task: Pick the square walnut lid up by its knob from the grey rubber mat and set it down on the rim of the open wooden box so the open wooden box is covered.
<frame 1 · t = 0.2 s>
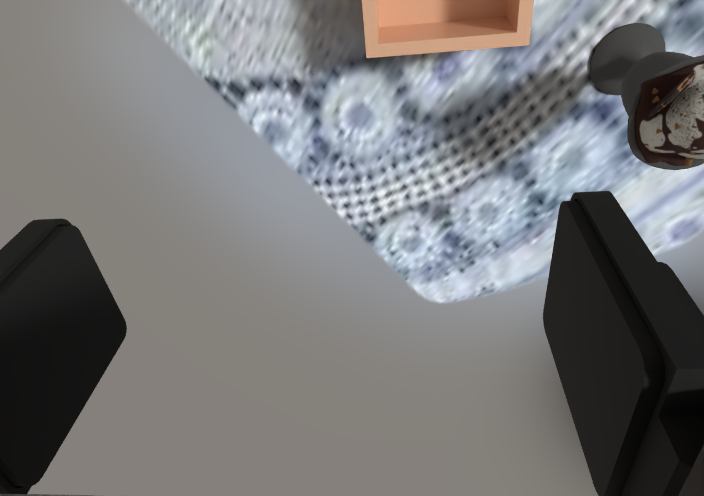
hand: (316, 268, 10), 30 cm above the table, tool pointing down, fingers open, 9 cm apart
sundae: (626, 59, 36), on the table
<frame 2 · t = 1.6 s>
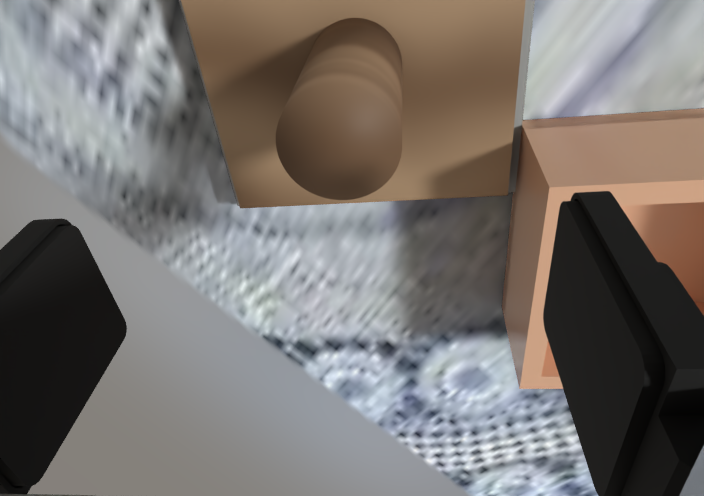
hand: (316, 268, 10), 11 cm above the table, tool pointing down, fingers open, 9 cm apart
lid: (357, 58, 18), resting on mat
open wooden box: (628, 221, 22), on the table
mat: (358, 54, 19), on the table
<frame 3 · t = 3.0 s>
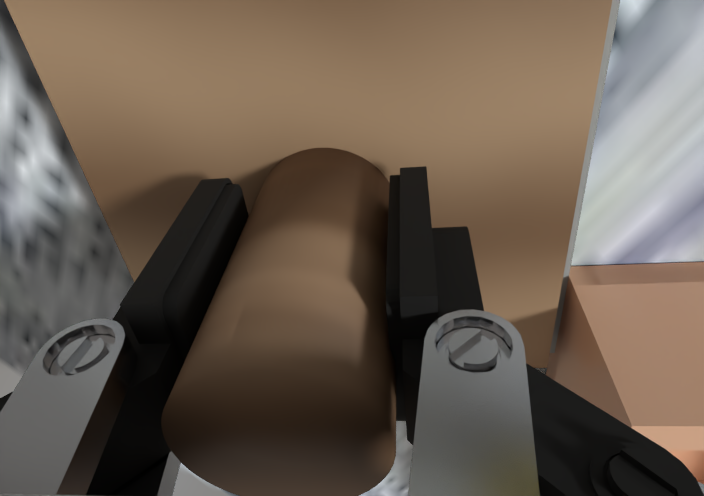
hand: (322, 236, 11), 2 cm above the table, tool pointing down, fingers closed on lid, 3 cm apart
lid: (332, 189, 13), resting on mat, touching gripper
mat: (334, 181, 13), on the table
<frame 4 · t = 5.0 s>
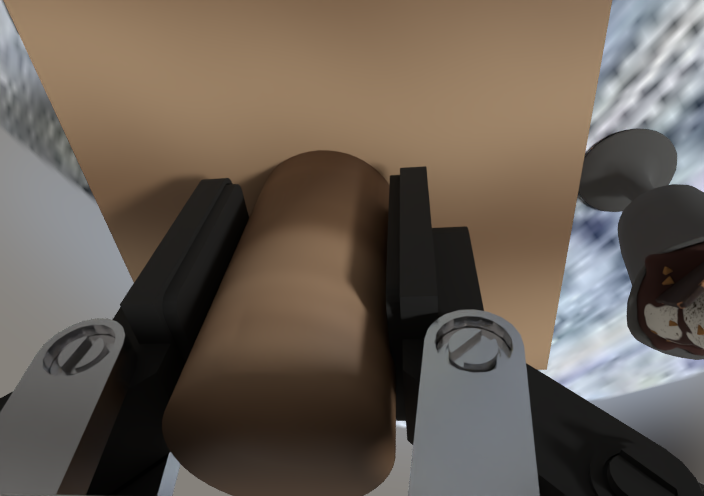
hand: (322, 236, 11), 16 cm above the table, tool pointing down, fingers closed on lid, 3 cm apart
lid: (332, 191, 13), point 14 cm above the table, touching gripper
sundae: (625, 169, 27), on the table
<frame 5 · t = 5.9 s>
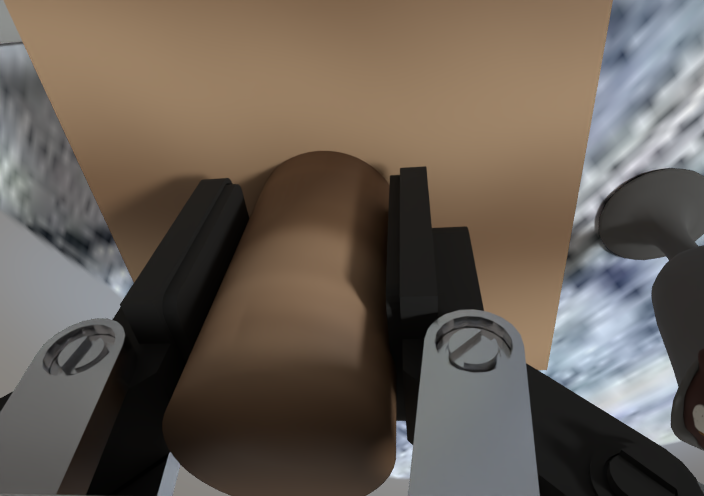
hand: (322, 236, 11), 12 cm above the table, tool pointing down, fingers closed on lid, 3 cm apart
lid: (333, 192, 13), point 10 cm above the table, touching gripper
sundae: (655, 213, 23), on the table
when the fingers open (8 cm above the table, at t = 6.8 s): lid stays where it is, resting on open wooden box.
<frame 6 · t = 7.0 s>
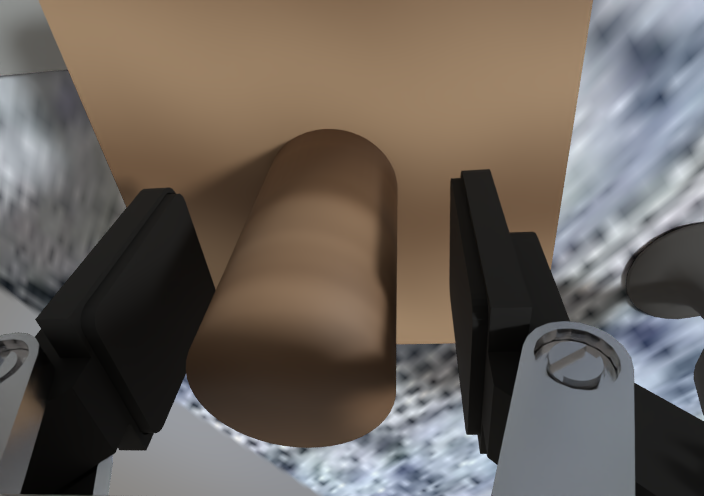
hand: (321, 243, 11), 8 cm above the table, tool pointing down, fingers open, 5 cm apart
lid: (336, 171, 13), point 5 cm above the table, touching open wooden box
sundae: (690, 268, 21), on the table
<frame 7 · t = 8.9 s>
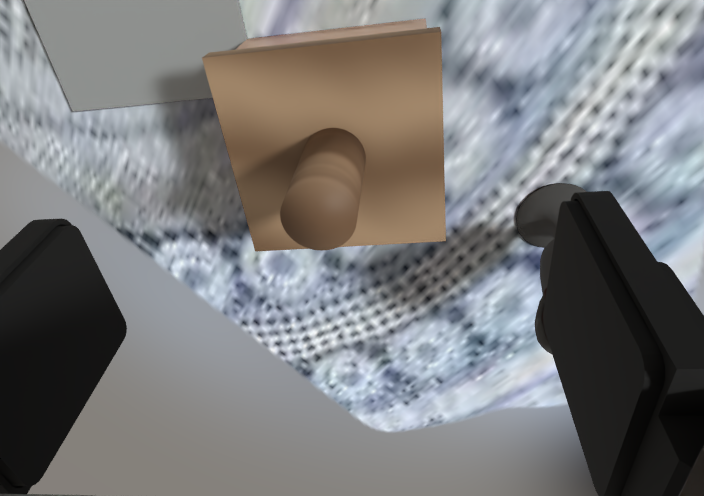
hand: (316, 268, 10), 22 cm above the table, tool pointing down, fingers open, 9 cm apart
lid: (336, 149, 27), point 5 cm above the table, touching open wooden box
sundae: (554, 214, 34), on the table
open wooden box: (345, 116, 31), on the table
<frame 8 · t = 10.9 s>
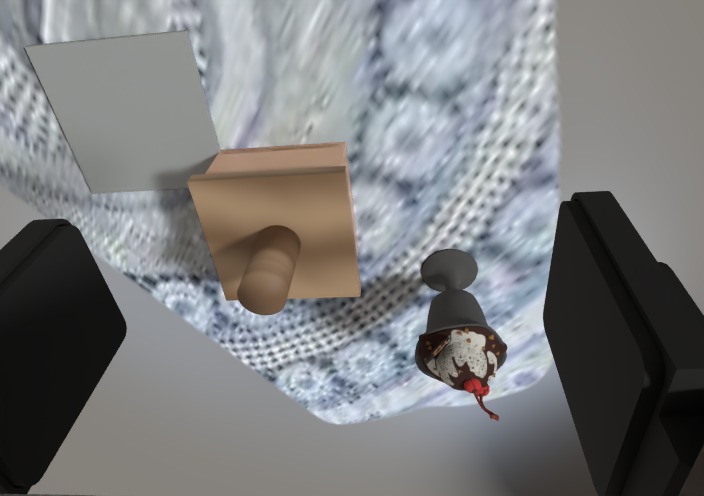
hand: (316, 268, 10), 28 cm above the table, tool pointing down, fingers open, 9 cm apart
lid: (281, 235, 39), point 5 cm above the table, touching open wooden box
sundae: (449, 269, 46), on the table
open wooden box: (293, 201, 43), on the table
mat: (135, 119, 39), on the table
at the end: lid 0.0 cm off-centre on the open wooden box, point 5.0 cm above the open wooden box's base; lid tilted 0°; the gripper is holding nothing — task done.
